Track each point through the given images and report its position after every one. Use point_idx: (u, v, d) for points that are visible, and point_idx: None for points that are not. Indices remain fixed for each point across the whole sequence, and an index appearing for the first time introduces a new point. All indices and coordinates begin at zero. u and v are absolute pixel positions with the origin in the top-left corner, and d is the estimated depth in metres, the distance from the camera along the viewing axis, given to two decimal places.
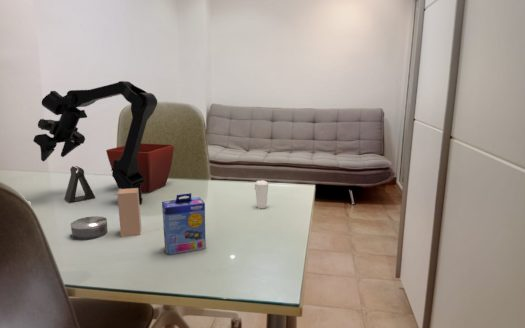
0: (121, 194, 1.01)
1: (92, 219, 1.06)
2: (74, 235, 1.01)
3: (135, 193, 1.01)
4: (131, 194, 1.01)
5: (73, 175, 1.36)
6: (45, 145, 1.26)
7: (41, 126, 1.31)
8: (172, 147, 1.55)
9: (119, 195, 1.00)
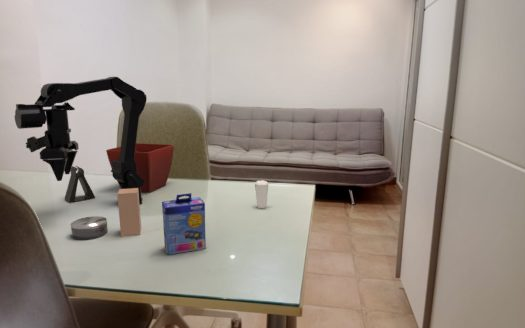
0: (121, 194, 1.01)
1: (92, 219, 1.06)
2: (74, 235, 1.01)
3: (135, 193, 1.01)
4: (131, 194, 1.01)
5: (73, 175, 1.36)
6: (59, 153, 1.05)
7: (34, 145, 1.08)
8: (172, 147, 1.55)
9: (119, 195, 1.00)
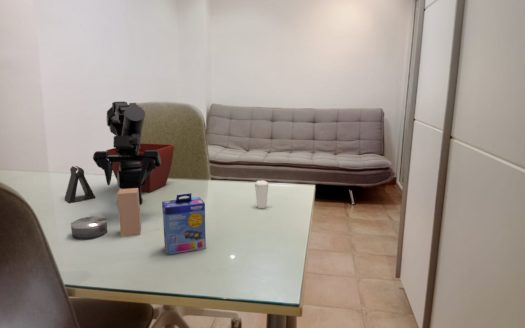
0: (121, 194, 1.01)
1: (92, 219, 1.06)
2: (74, 235, 1.01)
3: (135, 193, 1.01)
4: (131, 194, 1.01)
5: (73, 175, 1.36)
6: (160, 161, 1.17)
7: (138, 142, 1.11)
8: (172, 147, 1.55)
9: (119, 195, 1.00)
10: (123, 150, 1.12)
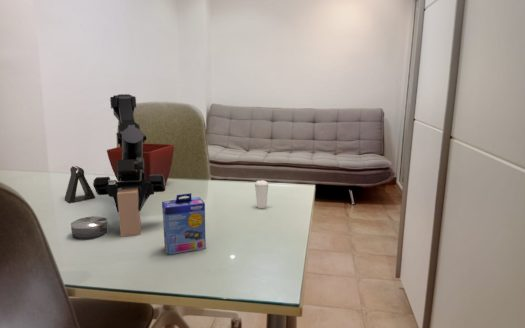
0: (121, 194, 1.01)
1: (92, 219, 1.06)
2: (74, 235, 1.01)
3: (135, 193, 1.01)
4: (131, 194, 1.01)
5: (73, 175, 1.36)
6: None
7: (143, 166, 1.05)
8: (172, 147, 1.55)
9: (119, 195, 1.00)
10: (126, 175, 1.06)
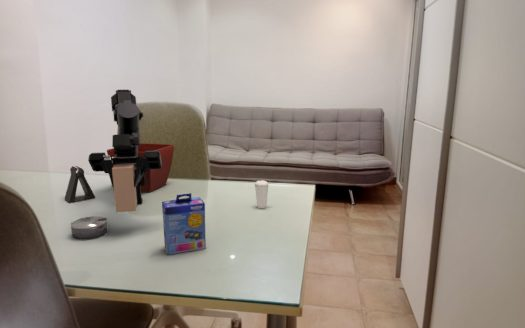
0: (116, 169, 0.99)
1: (92, 219, 1.06)
2: (74, 235, 1.01)
3: (130, 168, 1.00)
4: (126, 169, 1.00)
5: (73, 175, 1.36)
6: (161, 163, 1.09)
7: (139, 141, 1.03)
8: (172, 147, 1.55)
9: (114, 170, 0.99)
10: (121, 151, 1.04)
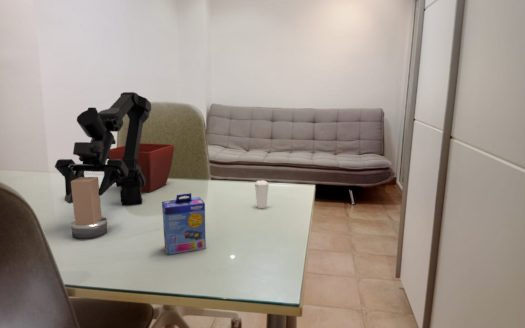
0: (74, 182, 1.00)
1: None
2: (74, 235, 1.01)
3: (88, 182, 1.00)
4: (84, 182, 1.00)
5: None
6: (127, 172, 1.07)
7: (101, 150, 1.02)
8: (172, 147, 1.55)
9: (72, 182, 1.00)
10: (86, 158, 1.04)
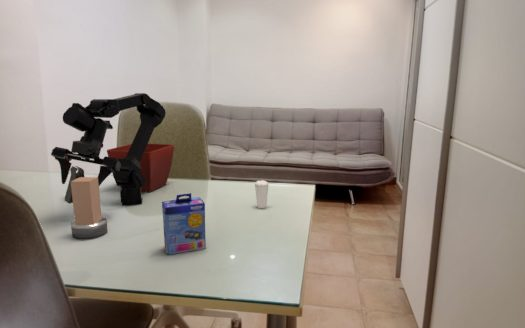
0: (74, 182, 0.99)
1: None
2: (74, 235, 1.01)
3: (88, 182, 0.99)
4: (84, 183, 0.99)
5: (73, 175, 1.36)
6: (120, 166, 1.17)
7: (98, 150, 1.09)
8: (172, 147, 1.55)
9: (72, 183, 0.99)
10: None
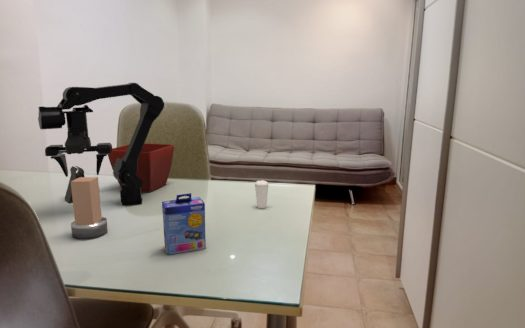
0: (74, 182, 0.99)
1: None
2: (74, 235, 1.01)
3: (88, 182, 0.99)
4: (84, 183, 0.99)
5: (73, 175, 1.36)
6: (111, 146, 1.25)
7: (90, 144, 1.16)
8: (172, 147, 1.55)
9: (72, 183, 0.99)
10: None
